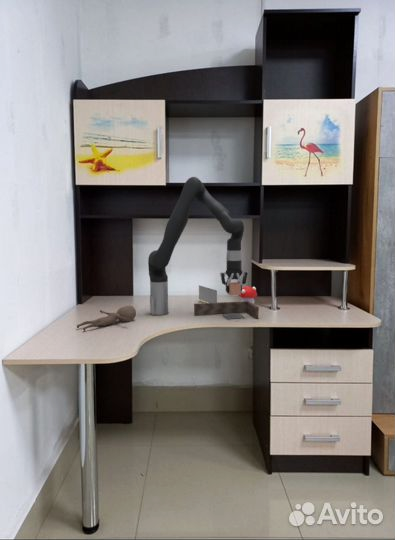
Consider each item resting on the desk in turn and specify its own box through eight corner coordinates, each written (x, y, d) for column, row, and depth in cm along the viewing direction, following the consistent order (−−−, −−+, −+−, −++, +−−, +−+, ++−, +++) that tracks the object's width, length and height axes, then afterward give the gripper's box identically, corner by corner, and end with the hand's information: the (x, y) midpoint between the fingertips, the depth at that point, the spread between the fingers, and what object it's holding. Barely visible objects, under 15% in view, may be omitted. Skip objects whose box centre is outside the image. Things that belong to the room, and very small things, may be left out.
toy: (97, 343, 182) (151, 323, 202) (94, 327, 180) (149, 308, 201) (67, 332, 200) (120, 314, 221) (65, 316, 199) (118, 300, 219)
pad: (227, 319, 209) (227, 318, 209) (222, 315, 218) (222, 314, 218) (244, 318, 211) (244, 317, 211) (239, 314, 220) (239, 313, 220)
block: (230, 295, 210) (230, 284, 209) (227, 293, 215) (227, 282, 214) (240, 294, 211) (240, 283, 210) (237, 292, 216) (237, 282, 216)
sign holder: (197, 301, 253) (197, 285, 252) (200, 301, 254) (200, 285, 252) (215, 308, 235) (215, 290, 234) (218, 308, 236) (218, 290, 235)
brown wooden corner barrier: (200, 322, 204) (200, 310, 203) (194, 315, 219) (194, 303, 218) (258, 318, 210) (258, 306, 209) (248, 312, 225) (248, 301, 224)
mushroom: (235, 308, 233) (236, 287, 232) (239, 304, 244) (240, 284, 242) (255, 309, 230) (255, 288, 228) (258, 305, 240) (258, 284, 239)
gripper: (222, 260, 206) (222, 294, 208) (250, 259, 209) (249, 293, 211) (218, 258, 213) (218, 291, 215) (245, 258, 216) (245, 290, 218)
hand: (233, 292), depth 213 cm, fingers closed on block, 5 cm apart
